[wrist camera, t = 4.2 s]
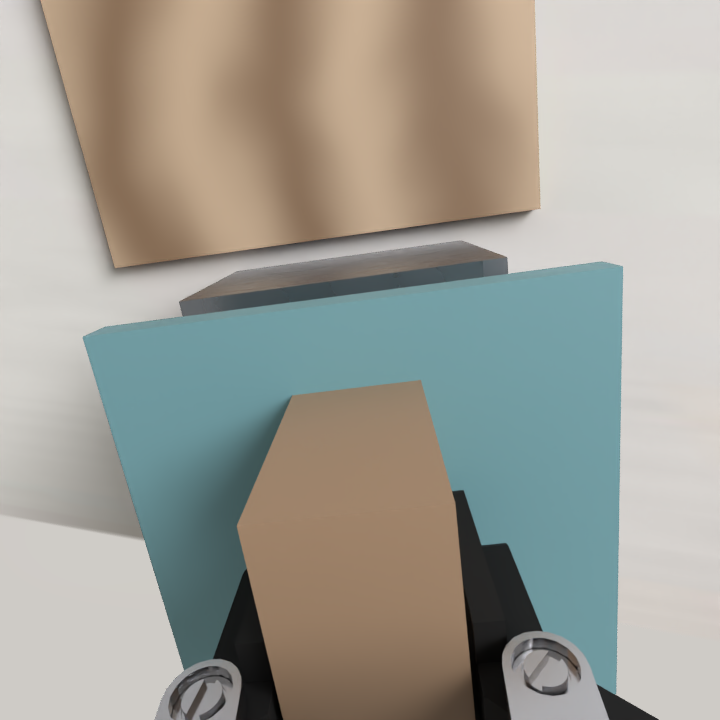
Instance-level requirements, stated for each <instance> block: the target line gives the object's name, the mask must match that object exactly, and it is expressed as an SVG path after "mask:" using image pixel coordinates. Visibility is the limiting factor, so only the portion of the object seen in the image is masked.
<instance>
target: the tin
mask: <svg viewBox="0 0 720 720" xmlns="http://www.w3.org/2000/svg"><path fill="white" fill-rule="evenodd" d="M504 274H508V262H507V257H505V256H502V255H500V254H497V253H494V252H492V251H489V250H486V249H483V248H481V247H478V246H475V245H473V244H470V243H467V242H464V241H455V242H447V243H440V244H433V245H426V246H418V247H411V248H404V249H396V250H389V251H382V252H375V253H367V254H360V255H353V256H346V257H338V258H331V259H324V260H316V261H309V262H302V263H295V264H287V265H280V266H273V267H266V268H258V269H251V270H244V271H237V272H235V273H233V274H231V275H229V276H227V277H225V278H223V279H222V280H220V281H218V282H216V283H214V284H212V285H210V286H208V287H206V288H204V289H202V290H201V291H199V292H197V293H195V294H193V295H191V296H189V297H187V298H185V299H183V300H181V301H180V302H179V303H180V307H181V311H182V315H183V317H184V316H191V315H199V314H207V313H214V312H222V311H229V310H237V309H245V308H252V307H260V306H268V305H275V304H283V303H290V302H298V301H306V300H313V299H321V298H328V297H336V296H344V295H351V294H359V293H367V292H374V291H382V290H389V289H397V288H405V287H412V286H420V285H427V284H435V283H443V282H450V281H458V280H465V279H473V278H481V277H488V276H496V275H504Z"/></svg>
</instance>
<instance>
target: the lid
mask: <svg viewBox="0 0 720 720" xmlns="http://www.w3.org/2000/svg"><path fill="white" fill-rule="evenodd" d="M622 293H623V266H619V265H615V264H611V263H606V262H595V263H587V264H580V265H572V266H564V267H557V268H549V269H542V270H534V271H526V272H519V273H511V274H504V275H496V276H488V277H481V278H473V279H465V280H458V281H450V282H443V283H435V284H427V285H420V286H412V287H405V288H397V289H389V290H382V291H374V292H367V293H359V294H351V295H344V296H336V297H328V298H321V299H313V300H306V301H298V302H290V303H283V304H275V305H268V306H260V307H252V308H245V309H237V310H229V311H222V312H214V313H207V314H199V315H191V316H184V317H176V318H169V319H161V320H153V321H146V322H138V323H131V324H123V325H115V326H108V327H104V328H101V329H99V330H97V331H95V332H92V333H90V334H88V335H86V336H83V340H84V343H85V347H86V350H87V353H88V356H89V360H90V363H91V366H92V370H93V373H94V376H95V379H96V383H97V386H98V389H99V393H100V396H101V399H102V402H103V406H104V409H105V412H106V415H107V419H108V422H109V425H110V429H111V432H112V435H113V438H114V442H115V445H116V448H117V452H118V455H119V458H120V461H121V465H122V468H123V471H124V474H125V478H126V481H127V484H128V488H129V491H130V494H131V497H132V501H133V504H134V507H135V511H136V514H137V517H138V520H139V524H140V527H141V530H142V533H143V537H144V540H145V543H146V547H147V550H148V553H149V556H150V560H151V563H152V566H153V570H154V573H155V576H156V579H157V583H158V586H159V589H160V592H161V596H162V599H163V602H164V605H165V609H166V612H167V615H168V619H169V622H170V625H171V628H172V632H173V635H174V638H175V642H176V645H177V648H178V651H179V655H180V658H181V661H182V664H183V668H184V671H185V670H186V669H188V668H190V667H191V666H193V665H195V664H197V663H200V662H203V661H206V660H210V659H213V657H214V654H215V651H216V648H217V645H218V643H219V640H220V637H221V634H222V631H223V628H224V626H225V623H226V620H227V617H228V614H229V612H230V609H231V606H232V603H233V600H234V597H235V595H236V592H237V589H238V586H239V583H240V580H241V578H242V575H243V573H244V571H245V570H246V569H247V571H248V575H249V579H250V584H251V588H252V592H253V596H254V600H255V604H256V609H257V613H258V617H259V621H260V625H261V629H262V634H263V638H264V642H265V646H266V650H267V654H268V658H269V663H270V667H271V671H272V675H273V679H274V683H275V688H276V692H277V696H278V700H279V704H280V708H281V713H282V717H283V720H475V711H474V700H473V689H472V678H471V667H470V657H469V646H468V635H467V624H466V613H465V602H464V592H463V581H462V570H461V559H460V548H459V537H458V527H457V516H456V505H455V500H454V497H453V493H452V491H458V490H464V492H465V496H466V499H467V502H468V505H469V508H470V511H471V514H472V517H473V520H474V523H475V527H476V530H477V533H478V536H479V539H480V542H481V545H490V544H500V543H506V544H508V546H509V548H510V551H511V553H512V556H513V558H514V561H515V563H516V566H517V568H518V571H519V573H520V576H521V578H522V580H523V583H524V585H525V588H526V590H527V593H528V595H529V598H530V600H531V603H532V605H533V608H534V610H535V613H536V615H537V618H538V620H539V623H540V625H541V628H542V630H543V632H550V633H553V634H556V635H558V636H561V637H563V638H565V639H567V640H568V641H570V642H571V643H573V644H574V645H575V646H576V647H577V648H578V649H579V650H580V651H581V652H582V653H583V654H584V656H585V658H586V659H587V661H588V663H589V665H590V668H591V670H592V673H593V676H594V679H595V682H596V684H597V685H599V686H601V687H603V688H604V689H606V690H608V691H610V692H611V693H613V694H616V672H617V670H616V669H617V609H618V546H619V483H620V420H621V356H622Z"/></svg>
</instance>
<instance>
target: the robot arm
mask: <svg viewBox="0 0 720 720" xmlns="http://www.w3.org/2000/svg"><path fill="white" fill-rule="evenodd" d="M452 493H453V497H454V500H455V505H456V516H457V527H458V537H459V548H460V559H461V570H462V581H463V592H464V602H465V613H466V624H467V635H468V646H469V657H470V667H471V678H472V689H473V700H474V711H475V720H658V719H657V718H655V717H653V716H652V715H650V714H648V713H646V712H644V711H643V710H641V709H639V708H637V707H636V706H634V705H632V704H631V703H629V702H627V701H625V700H624V699H622V698H620V697H618V696H617V695H615V694H613V693H611V692H610V691H608V690H606V689H604V688H603V687H601V686H599V685H597V684H596V682H595V679H594V676H593V673H592V670H591V668H590V665H589V663H588V661H587V659H586V658H585V656H584V654H583V653H582V652H581V651H580V650H579V649H578V648H577V647H576V646H575V645H574V644H573V643H571V642H570V641H568V640H567V639H565V638H563V637H561V636H558V635H556V634H553V633H550V632H543V630H542V628H541V625H540V623H539V620H538V618H537V615H536V613H535V610H534V608H533V605H532V603H531V600H530V598H529V595H528V593H527V590H526V588H525V585H524V583H523V580H522V578H521V576H520V573H519V571H518V568H517V566H516V563H515V561H514V558H513V556H512V553H511V551H510V548H509V546H508V544H506V543H500V544H490V545H481V542H480V539H479V536H478V533H477V530H476V527H475V523H474V520H473V517H472V514H471V511H470V508H469V505H468V502H467V499H466V496H465V492H464V490H458V491H452ZM155 720H283V717H282V713H281V708H280V704H279V700H278V696H277V692H276V688H275V683H274V679H273V675H272V671H271V667H270V663H269V658H268V654H267V650H266V646H265V642H264V638H263V634H262V629H261V625H260V621H259V617H258V613H257V609H256V604H255V600H254V596H253V592H252V588H251V584H250V579H249V575H248V571H247V569H246V570H245V571H244V573H243V575H242V578H241V580H240V583H239V586H238V589H237V592H236V595H235V597H234V600H233V603H232V606H231V609H230V612H229V614H228V617H227V620H226V623H225V626H224V628H223V631H222V634H221V637H220V640H219V643H218V645H217V648H216V651H215V654H214V657H213V659H210V660H206V661H203V662H200V663H197V664H195V665H193V666H191V667H190V668H188V669H186V670H185V671H183V672H182V673H181V674H180V675H179V676H177V677H176V678H175V679H174V680H173V682H172V683H171V684H170V685H169V687H168V688H167V689H166V691H165V693H164V695H163V697H162V700H161V702H160V705H159V708H158V711H157V714H156V717H155Z"/></svg>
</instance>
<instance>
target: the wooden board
mask: <svg viewBox="0 0 720 720" xmlns="http://www.w3.org/2000/svg"><path fill="white" fill-rule="evenodd" d="M40 1H41V4H42V8H43V11H44V15H45V19H46V22H47V26H48V29H49V33H50V37H51V40H52V44H53V47H54V51H55V55H56V58H57V62H58V65H59V69H60V73H61V76H62V80H63V83H64V87H65V91H66V94H67V98H68V101H69V105H70V109H71V112H72V116H73V119H74V123H75V127H76V130H77V134H78V137H79V141H80V144H81V148H82V152H83V155H84V159H85V162H86V166H87V170H88V173H89V177H90V180H91V184H92V188H93V191H94V195H95V198H96V202H97V206H98V209H99V213H100V216H101V220H102V224H103V227H104V231H105V234H106V238H107V242H108V245H109V249H110V252H111V256H112V260H113V263H114V267H115V268H119V267H127V266H134V265H141V264H148V263H155V262H162V261H170V260H177V259H184V258H191V257H198V256H205V255H213V254H220V253H227V252H234V251H241V250H248V249H256V248H263V247H270V246H277V245H284V244H291V243H299V242H306V241H313V240H320V239H327V238H334V237H342V236H349V235H356V234H363V233H370V232H377V231H385V230H392V229H399V228H406V227H413V226H420V225H428V224H435V223H442V222H449V221H456V220H463V219H471V218H478V217H485V216H492V215H499V214H506V213H514V212H521V211H528V210H535V209H540V177H539V142H538V106H537V71H536V35H535V0H40Z"/></svg>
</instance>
